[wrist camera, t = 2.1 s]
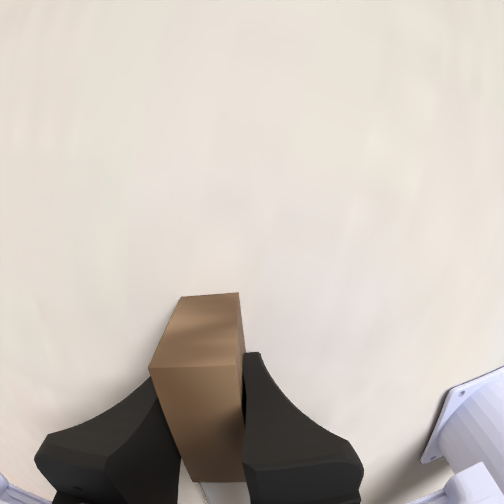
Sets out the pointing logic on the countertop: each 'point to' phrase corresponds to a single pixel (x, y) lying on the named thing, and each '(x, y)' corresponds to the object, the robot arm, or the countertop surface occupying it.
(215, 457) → the putty knife
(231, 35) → the countertop surface
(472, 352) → the countertop surface
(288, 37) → the countertop surface
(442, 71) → the countertop surface
